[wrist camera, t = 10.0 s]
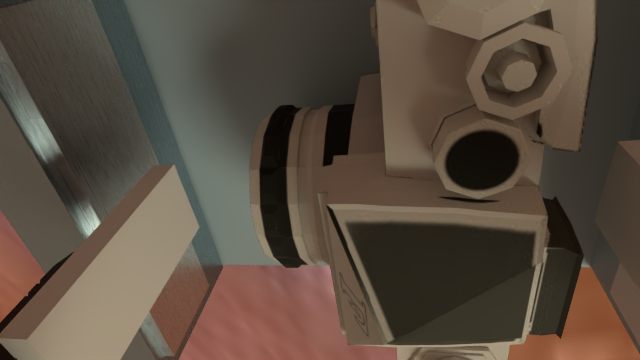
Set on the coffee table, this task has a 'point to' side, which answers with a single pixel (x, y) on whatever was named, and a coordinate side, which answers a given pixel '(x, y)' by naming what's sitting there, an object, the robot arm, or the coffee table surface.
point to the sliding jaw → (90, 147)
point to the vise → (341, 88)
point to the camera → (438, 177)
